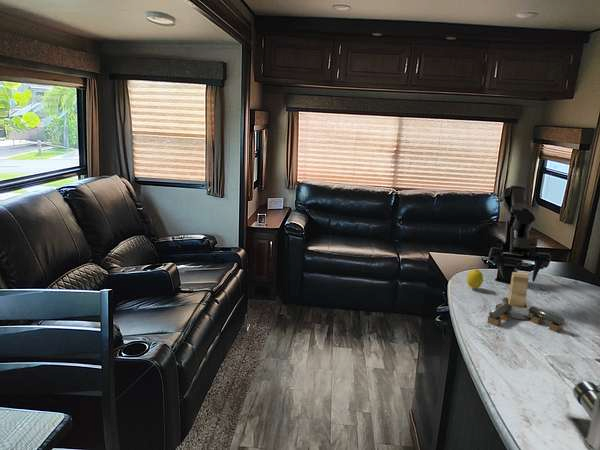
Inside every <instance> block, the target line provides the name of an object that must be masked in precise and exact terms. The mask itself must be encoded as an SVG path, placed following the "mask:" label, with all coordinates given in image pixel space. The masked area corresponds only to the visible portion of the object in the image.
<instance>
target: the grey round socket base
mask: <svg viewBox="0 0 600 450" xmlns="http://www.w3.org/2000/svg"><path fill="white" fill-rule="evenodd" d="M508 298H509V297H503V298H501V302H500V303H498V304H496V305H495V308H494V310H495V309H497V308H499V307H501V306H503V305H505V304H508ZM530 308H531V306H530V304H529V302H528V301H527V300H526V299H525V308H523V307H517V306H512V310H511V311H509V312H508V313H511V315H510V320H511V319H512V320H518V321H529V320H530V321H531V317H532V315H533V314H531V313H529V309H530Z"/></svg>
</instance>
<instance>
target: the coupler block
mask: <svg viewBox="0 0 600 450" xmlns="http://www.w3.org/2000/svg"><path fill="white" fill-rule="evenodd" d="M529 279H530V277H529V275H528V273H524V272H518V273H517V272H512V279H511V284H509V293H508V297H507V298H508V304H510V305H511V306H517V307H523V308H525V300H526V299H527V298H526V297H527V293H528V292H527V291H528V285H529V281H530V280H529Z"/></svg>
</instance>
